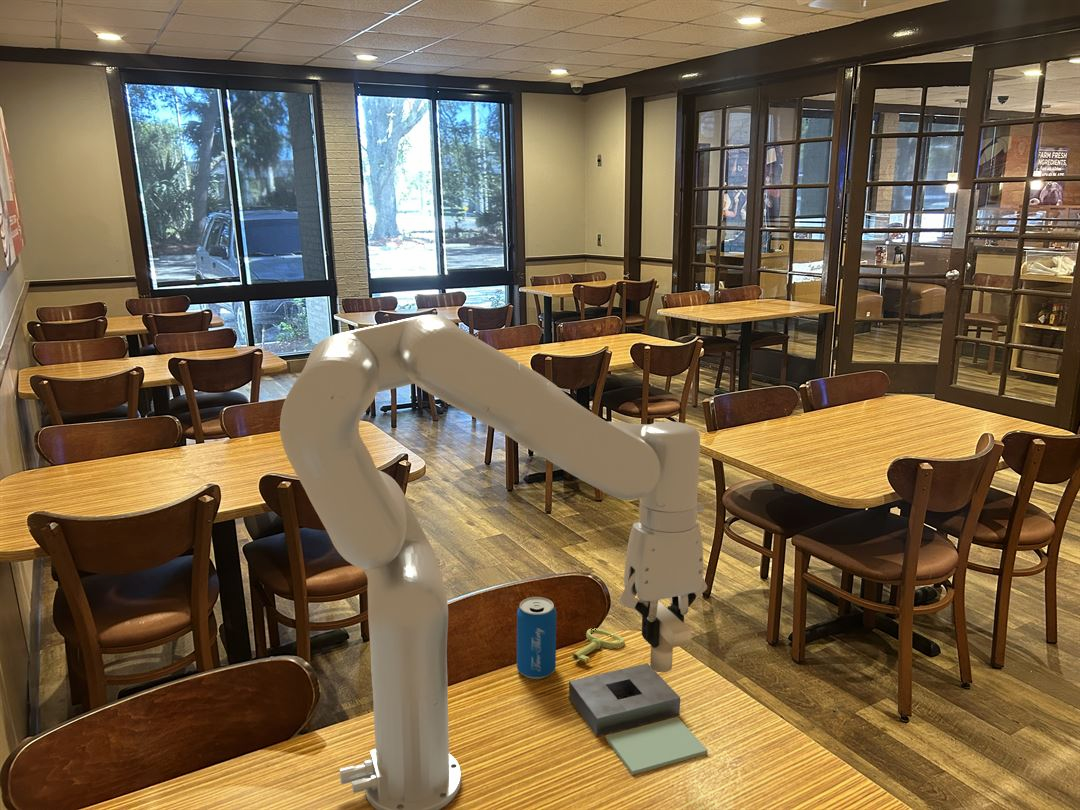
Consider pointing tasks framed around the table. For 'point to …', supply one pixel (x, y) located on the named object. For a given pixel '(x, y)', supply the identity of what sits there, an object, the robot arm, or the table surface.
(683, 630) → the t key
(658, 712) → the lock housing
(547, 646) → the beverage can
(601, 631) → the key
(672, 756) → the mat
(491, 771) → the table surface
